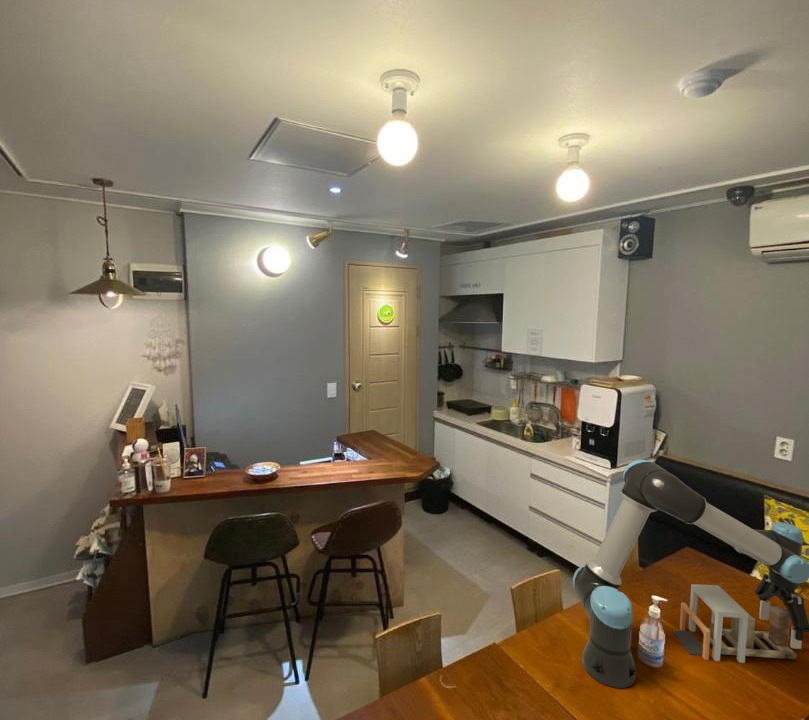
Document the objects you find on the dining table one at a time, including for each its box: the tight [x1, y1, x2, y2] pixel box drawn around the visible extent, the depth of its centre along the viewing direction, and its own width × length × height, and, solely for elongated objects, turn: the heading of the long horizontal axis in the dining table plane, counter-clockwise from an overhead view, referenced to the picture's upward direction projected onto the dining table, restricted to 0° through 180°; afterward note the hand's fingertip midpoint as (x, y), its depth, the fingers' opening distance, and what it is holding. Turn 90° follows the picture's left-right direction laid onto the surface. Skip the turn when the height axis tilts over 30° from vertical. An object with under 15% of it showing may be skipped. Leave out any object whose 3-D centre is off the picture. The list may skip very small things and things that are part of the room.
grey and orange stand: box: [679, 583, 749, 664], centre depth 146 cm, size 12×15×16 cm
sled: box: [700, 605, 797, 660], centre depth 145 cm, size 23×10×13 cm, turn 85°
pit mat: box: [671, 630, 710, 657], centre depth 147 cm, size 6×11×1 cm, turn 175°
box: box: [730, 613, 756, 649], centre depth 145 cm, size 5×4×11 cm
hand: (779, 632), depth 144 cm, fingers open, 13 cm apart
